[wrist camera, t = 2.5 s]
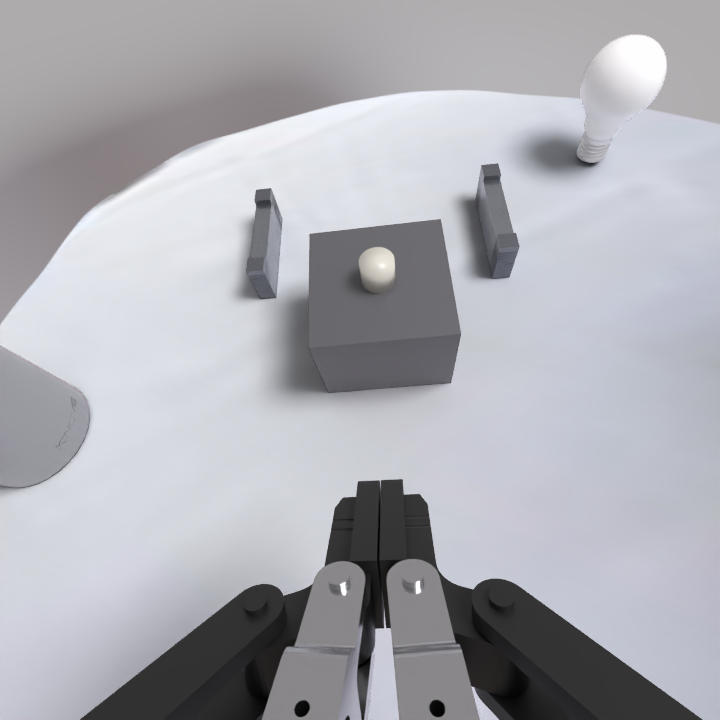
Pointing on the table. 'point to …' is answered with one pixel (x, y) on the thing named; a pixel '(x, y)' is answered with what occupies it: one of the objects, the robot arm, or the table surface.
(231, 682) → the robot arm
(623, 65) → the lightbulb
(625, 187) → the table surface
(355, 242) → the plug block
